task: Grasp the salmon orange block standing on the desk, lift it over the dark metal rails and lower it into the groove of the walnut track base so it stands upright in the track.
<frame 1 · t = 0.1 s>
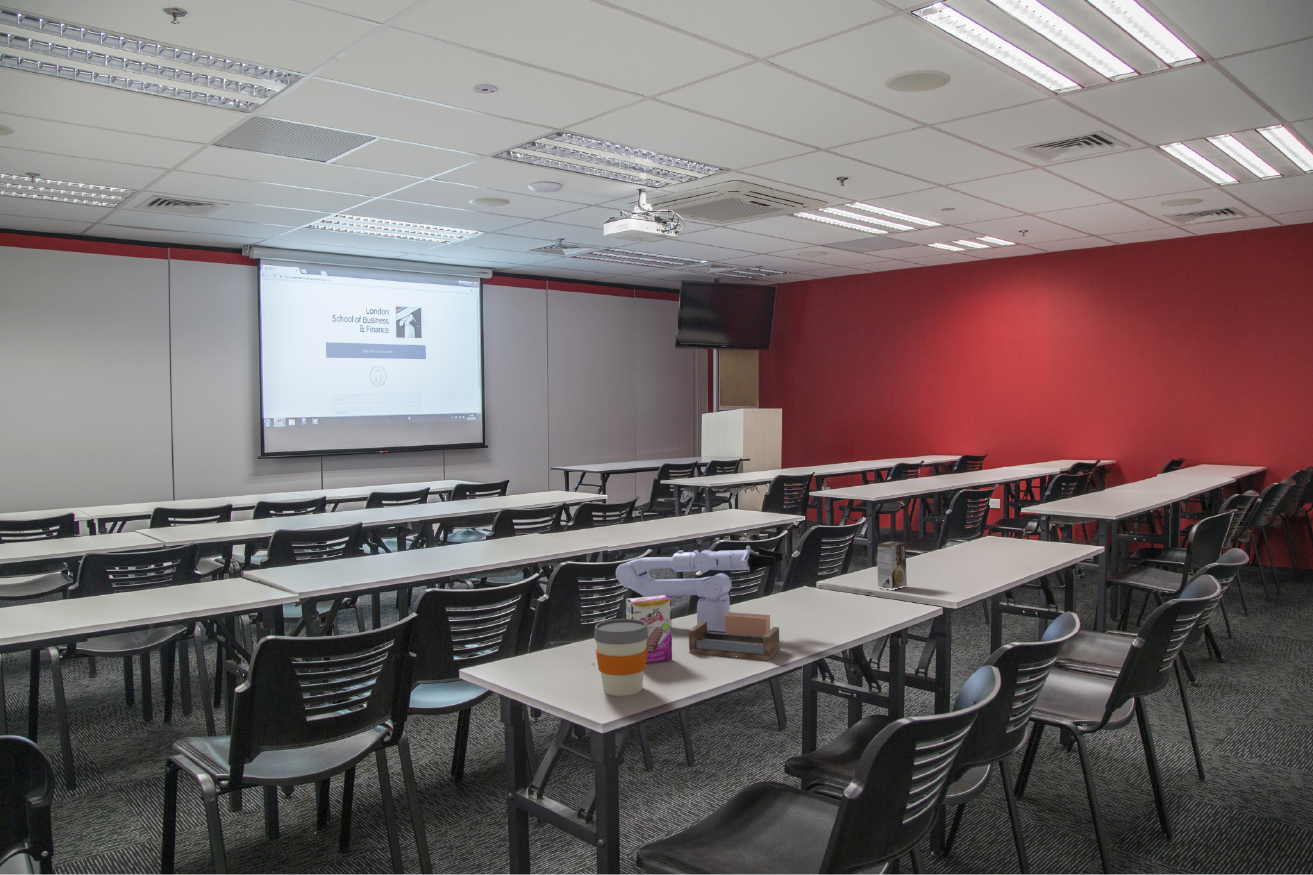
hand: (778, 558, 228), 22 cm above the table, tool horizontal, fingers open, 7 cm apart
candy bar box: (650, 661, 206), on the table
track base: (734, 651, 212), on the table
reusable coffee cup: (622, 690, 185), on the table
salmon orange block: (747, 640, 223), on the table
coffee box: (892, 588, 285), on the table
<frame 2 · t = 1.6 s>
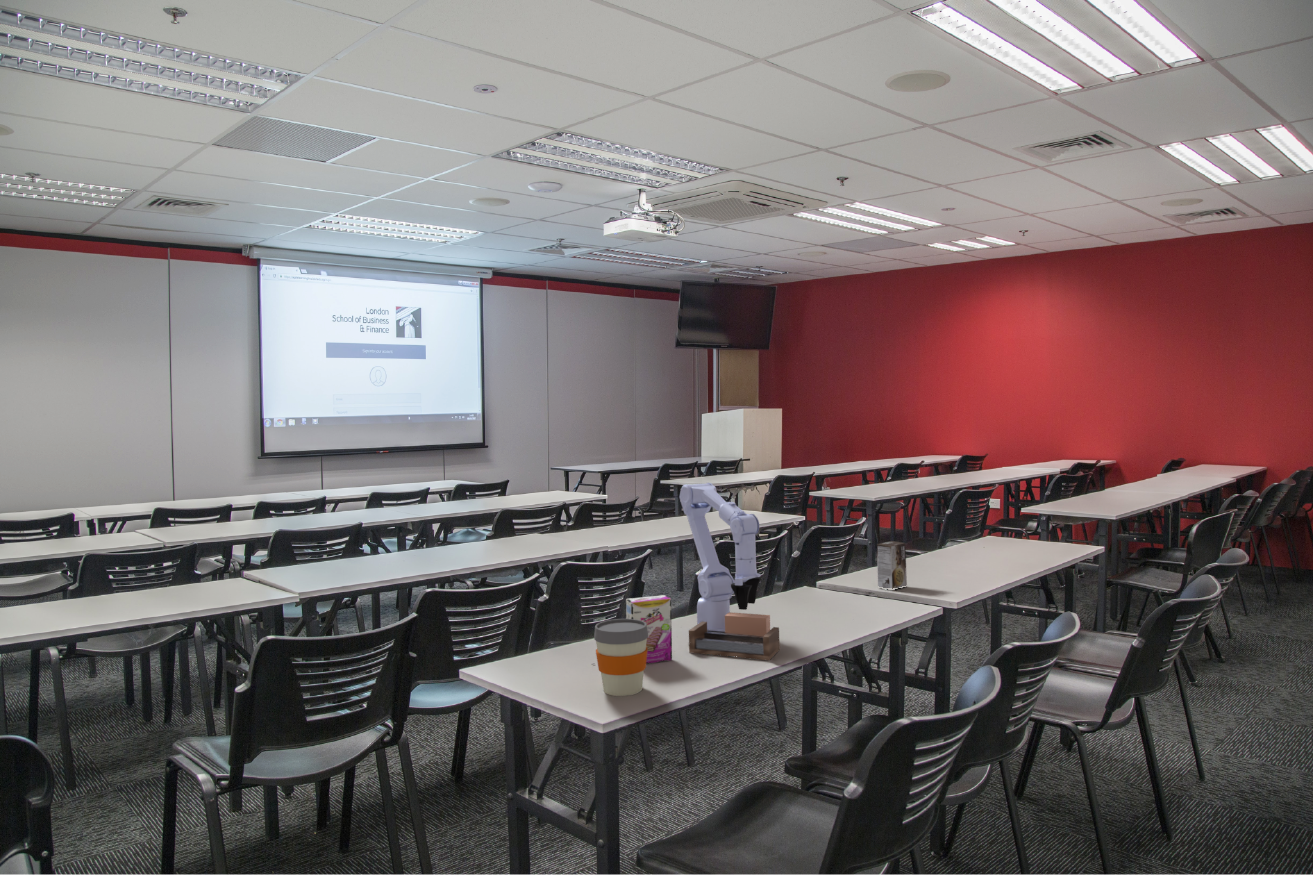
hand: (747, 606, 223), 9 cm above the table, tool pointing down, fingers open, 7 cm apart
nothing on the table moved.
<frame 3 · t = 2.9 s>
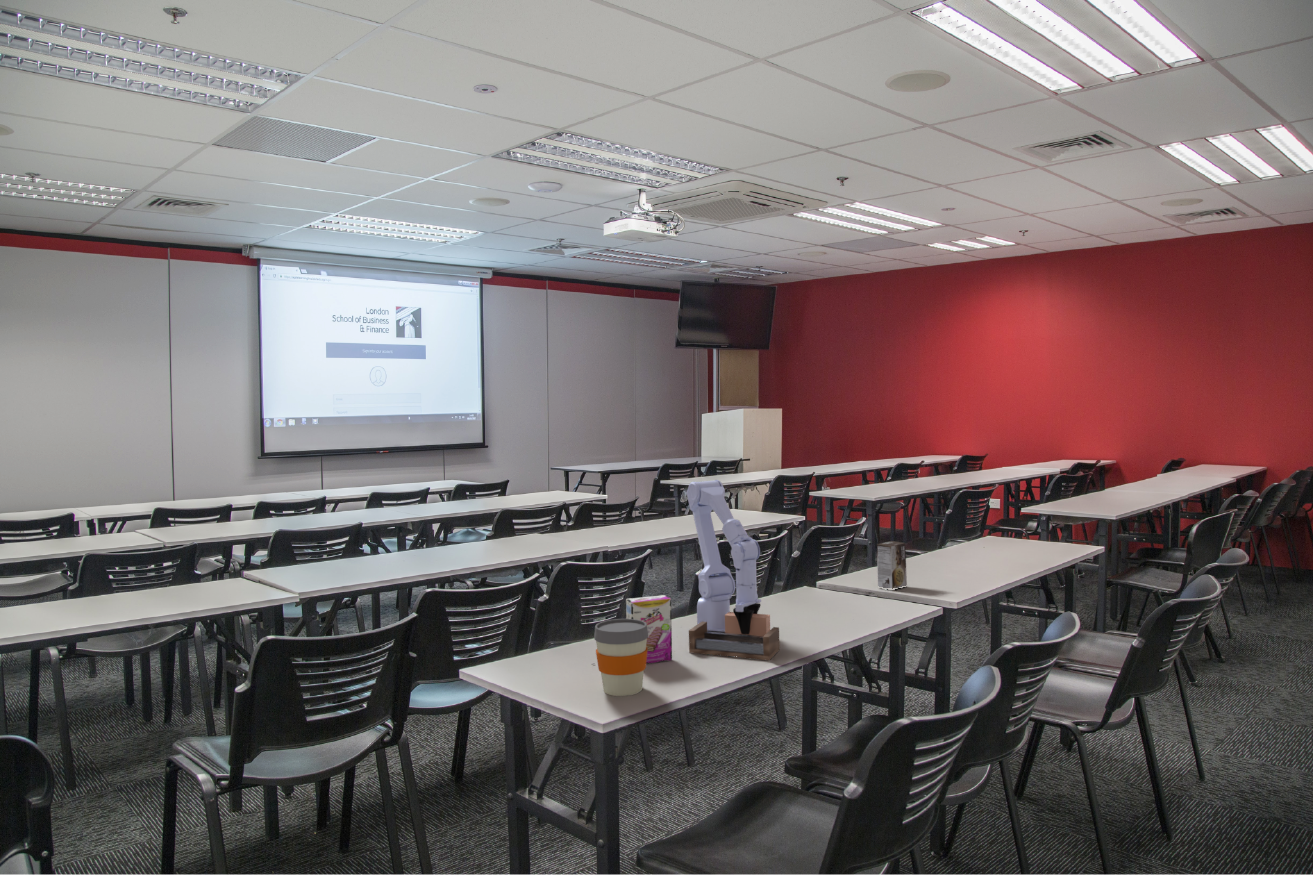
hand: (747, 631, 223), 2 cm above the table, tool pointing down, fingers closed on salmon orange block, 4 cm apart
salmon orange block: (747, 639, 223), on the table, touching gripper
everything else where it was.
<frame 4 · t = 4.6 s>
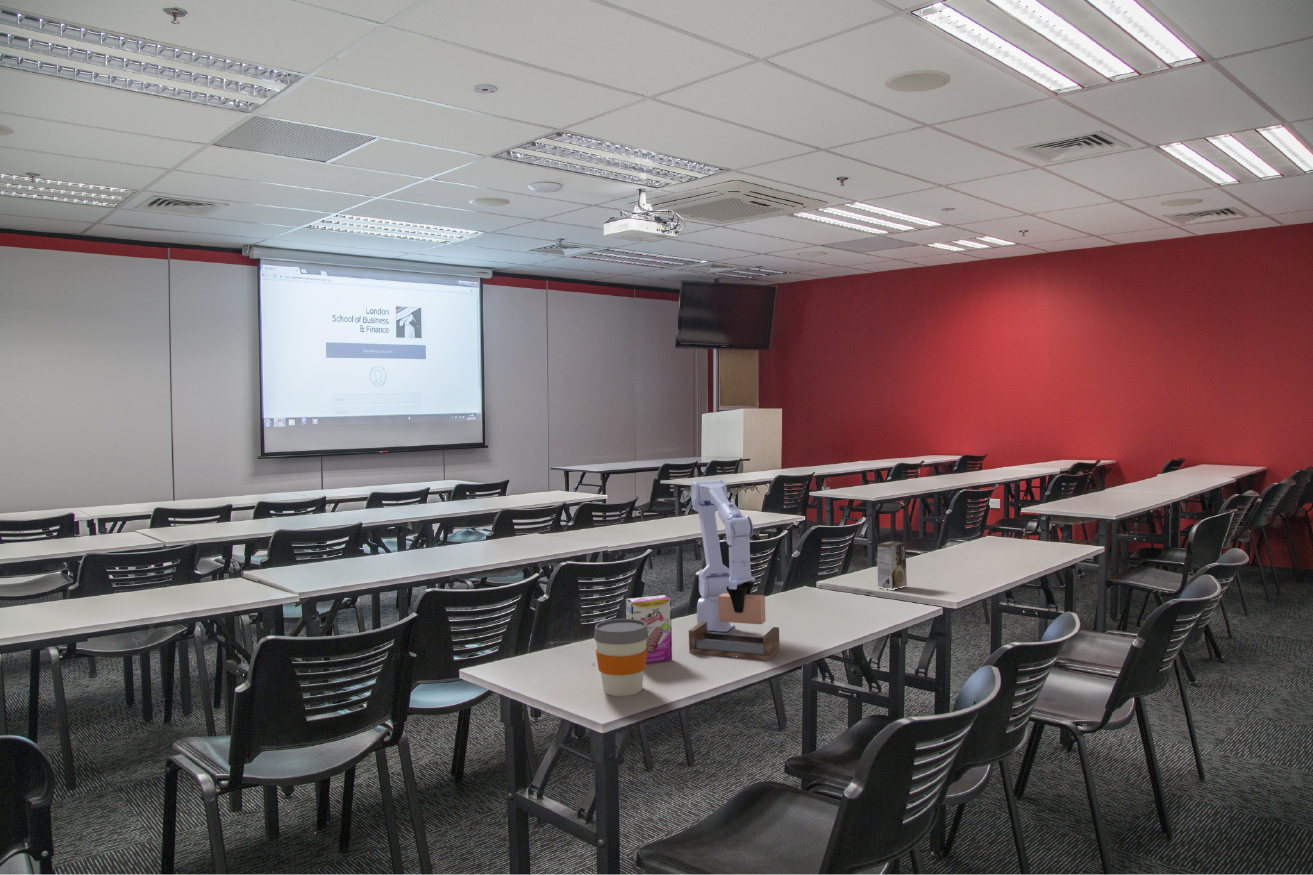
hand: (741, 610, 218), 10 cm above the table, tool pointing down, fingers closed on salmon orange block, 4 cm apart
salmon orange block: (742, 621, 218), point 7 cm above the table, touching gripper
everything else where it was.
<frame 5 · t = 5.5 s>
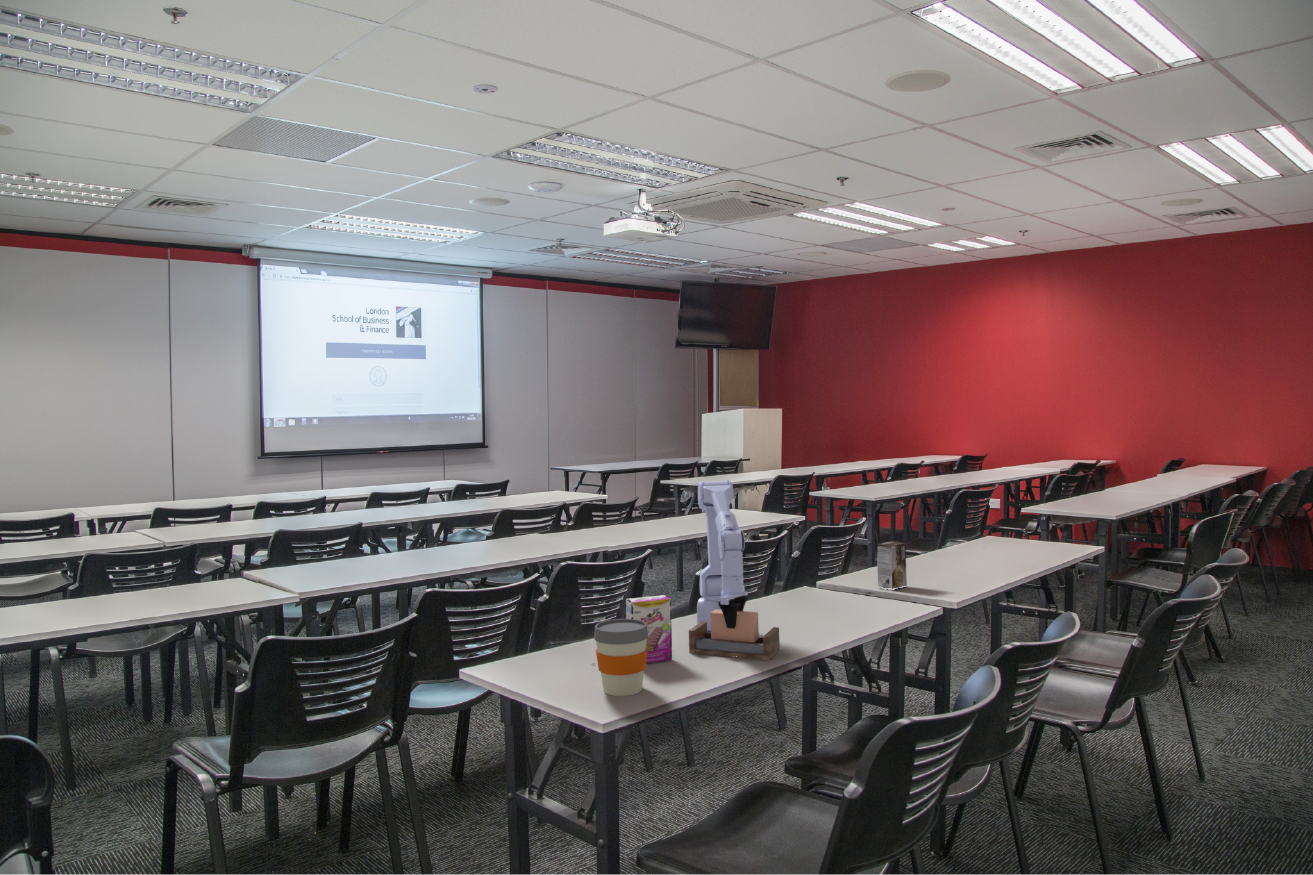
hand: (733, 625, 212), 7 cm above the table, tool pointing down, fingers closed on salmon orange block, 4 cm apart
salmon orange block: (734, 638, 212), point 3 cm above the table, touching gripper
everything else where it was.
when the fingers open (5 cm above the table, at t = 6.2 s): salmon orange block stays where it is, resting on track base.
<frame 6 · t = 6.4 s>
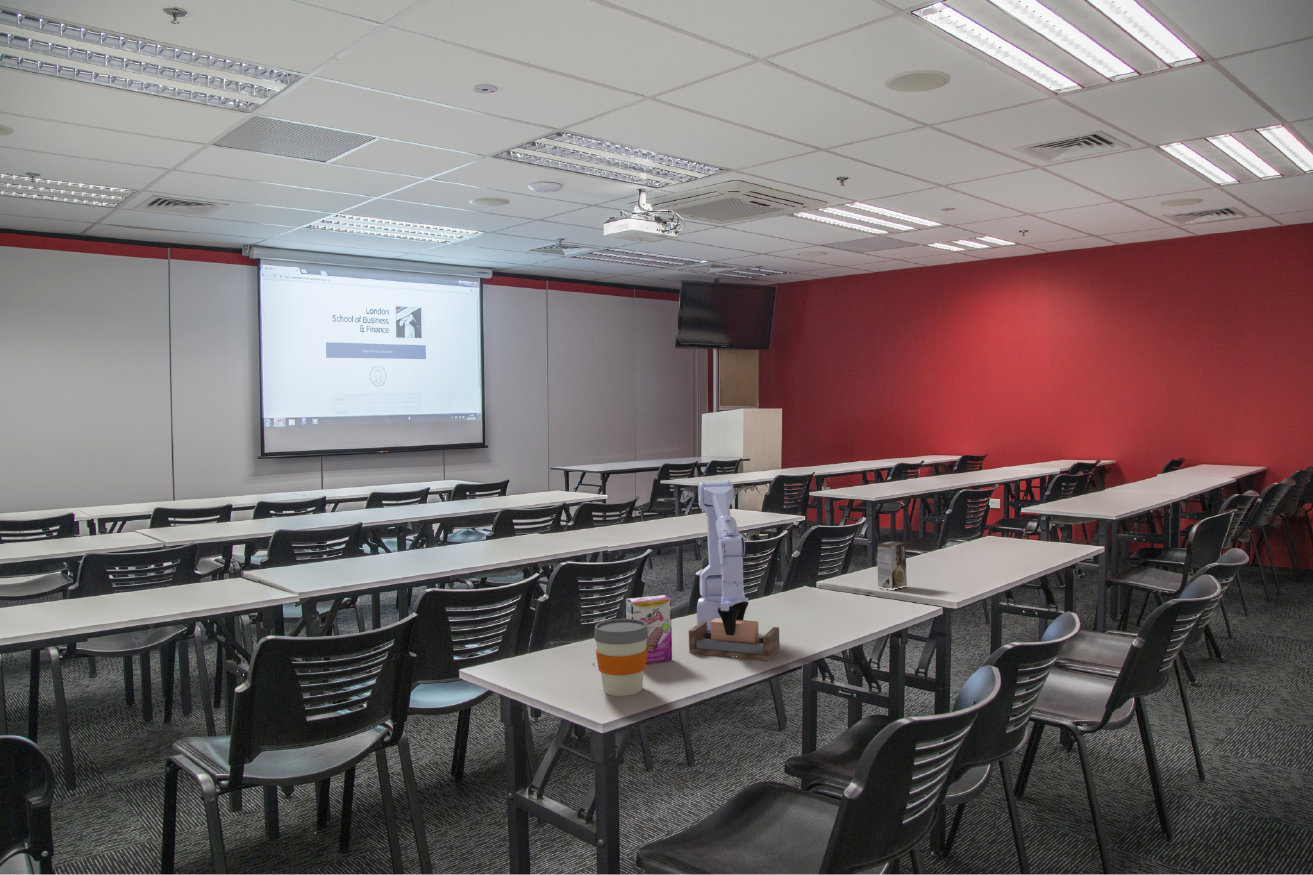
hand: (733, 631, 212), 5 cm above the table, tool pointing down, fingers open, 6 cm apart
salmon orange block: (735, 647, 212), point 1 cm above the table, touching track base
everything else where it was.
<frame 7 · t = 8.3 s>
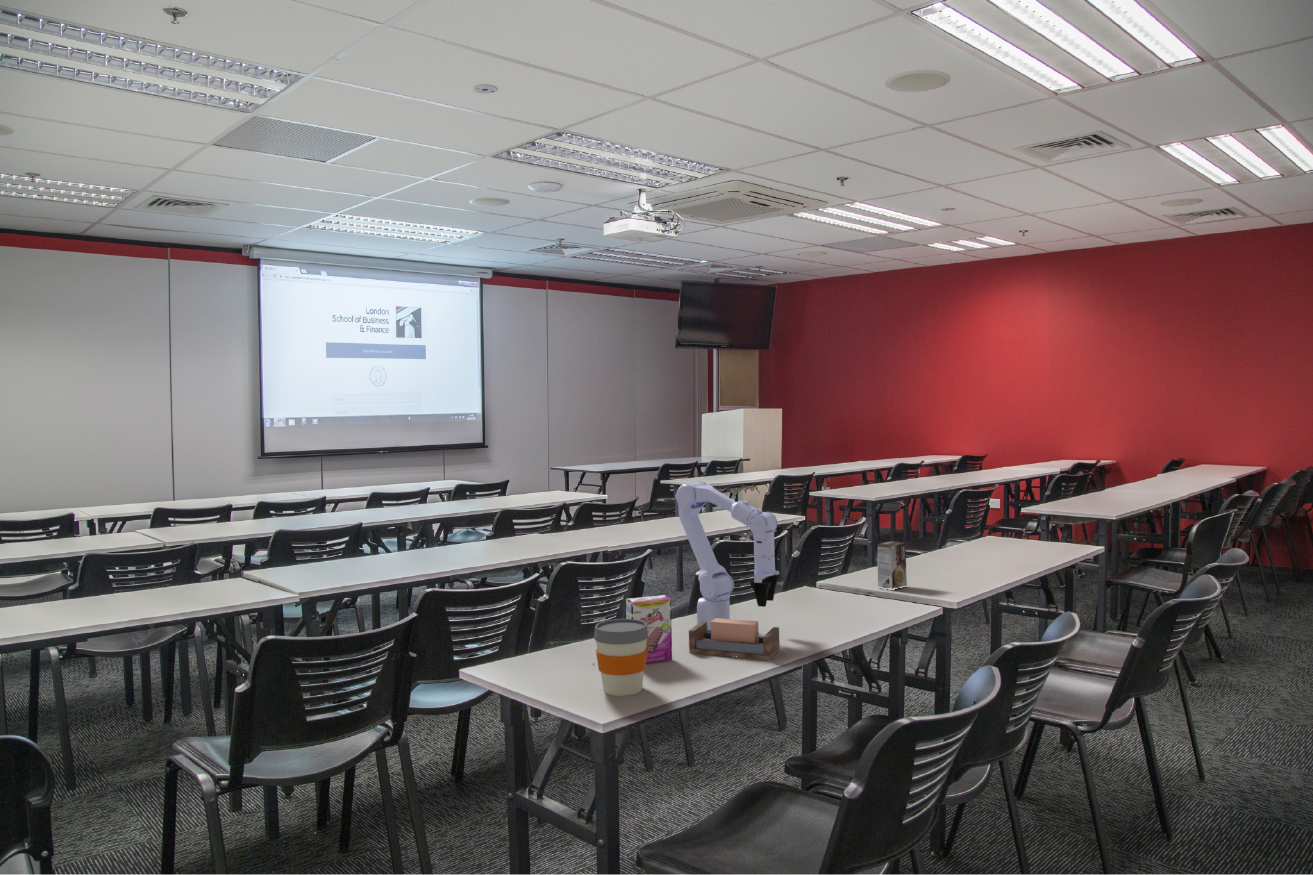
hand: (765, 603, 226), 9 cm above the table, tool pointing down, fingers open, 7 cm apart
nothing on the table moved.
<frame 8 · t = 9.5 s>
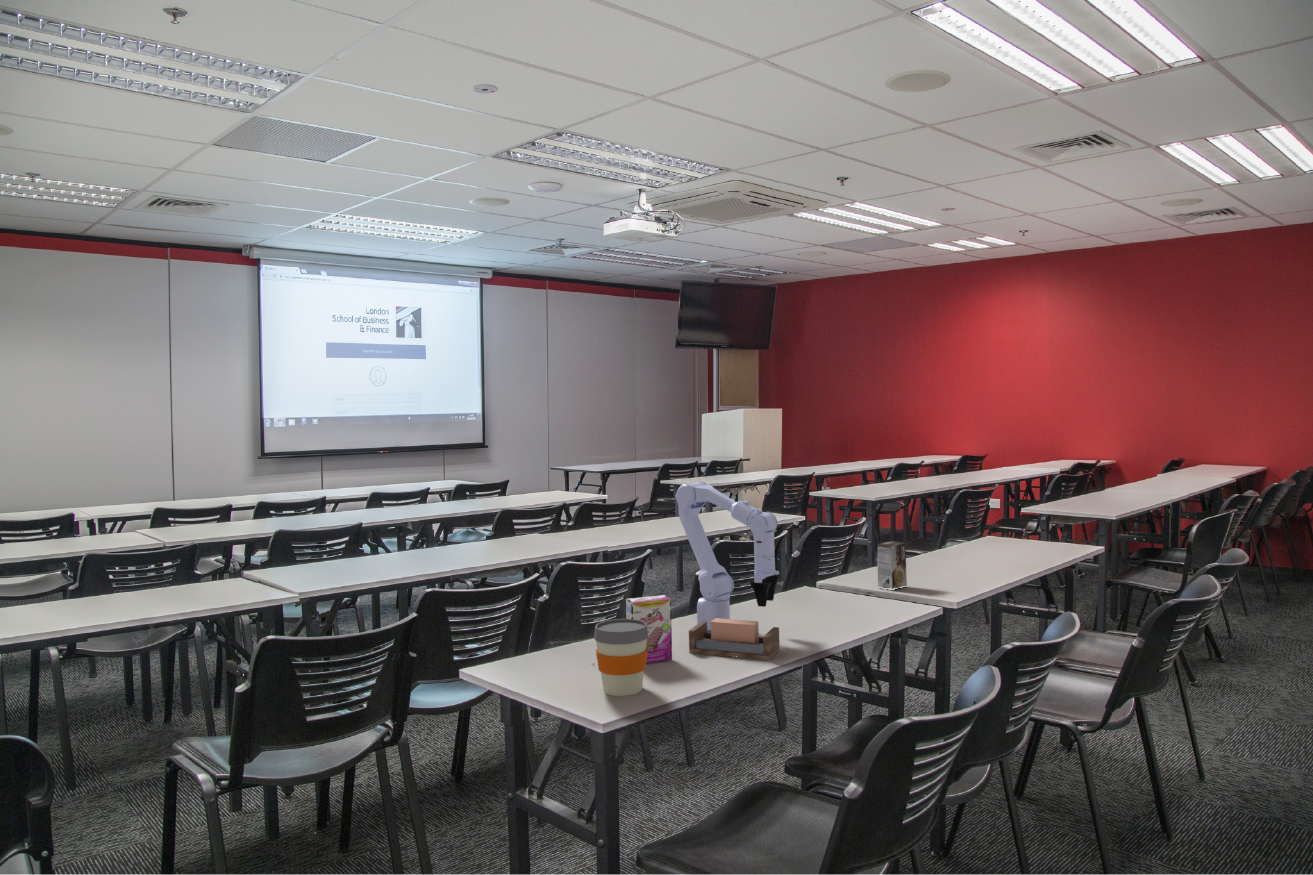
hand: (765, 603, 226), 9 cm above the table, tool pointing down, fingers open, 7 cm apart
nothing on the table moved.
at the end: salmon orange block inside the target area on the track base (0.2 cm from its centre), point 1.0 cm above the track base's base; salmon orange block tilted 0°; the gripper is holding nothing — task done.
